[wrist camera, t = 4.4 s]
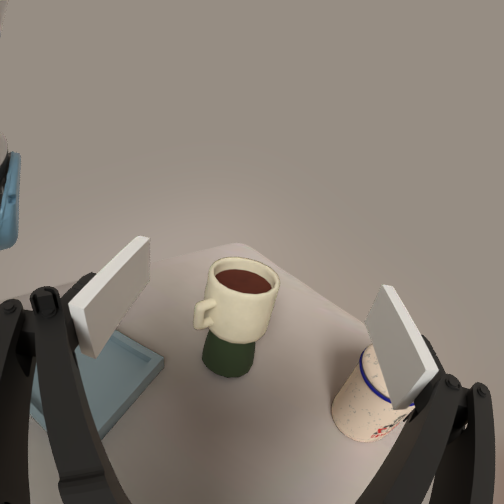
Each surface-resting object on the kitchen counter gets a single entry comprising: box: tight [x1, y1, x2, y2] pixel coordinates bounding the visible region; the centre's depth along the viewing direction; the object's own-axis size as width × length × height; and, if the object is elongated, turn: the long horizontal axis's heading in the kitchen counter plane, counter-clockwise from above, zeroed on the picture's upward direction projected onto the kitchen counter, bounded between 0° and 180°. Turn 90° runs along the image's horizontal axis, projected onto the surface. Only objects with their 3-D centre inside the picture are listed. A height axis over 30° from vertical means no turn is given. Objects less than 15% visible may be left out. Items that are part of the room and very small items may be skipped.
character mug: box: [193, 257, 280, 378], centre depth 30 cm, size 11×7×13 cm, turn 132°
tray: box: [30, 330, 164, 440], centre depth 25 cm, size 16×16×2 cm
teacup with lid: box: [332, 344, 415, 442], centre depth 26 cm, size 12×9×12 cm
